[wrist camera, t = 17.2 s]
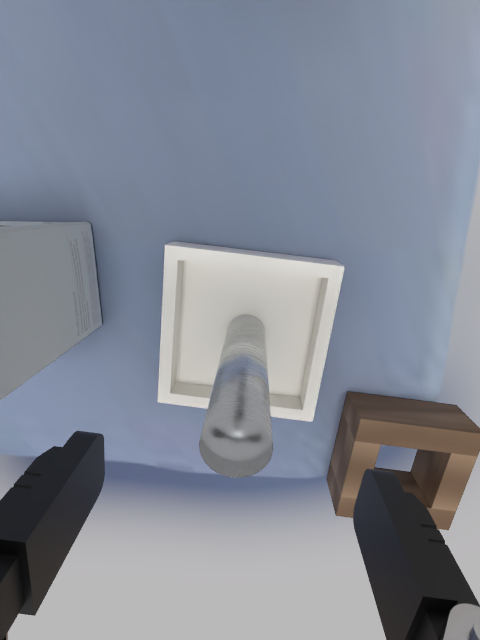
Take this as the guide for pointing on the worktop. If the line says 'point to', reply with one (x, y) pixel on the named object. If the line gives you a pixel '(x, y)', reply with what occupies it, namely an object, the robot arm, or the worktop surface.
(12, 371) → the supplement box
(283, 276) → the tray
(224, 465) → the cylinder
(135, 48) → the worktop surface
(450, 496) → the bore block
